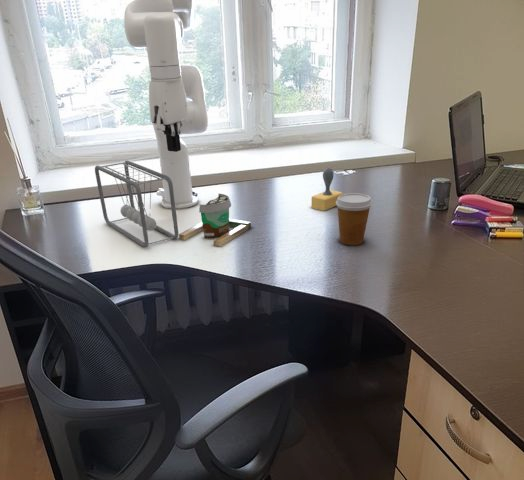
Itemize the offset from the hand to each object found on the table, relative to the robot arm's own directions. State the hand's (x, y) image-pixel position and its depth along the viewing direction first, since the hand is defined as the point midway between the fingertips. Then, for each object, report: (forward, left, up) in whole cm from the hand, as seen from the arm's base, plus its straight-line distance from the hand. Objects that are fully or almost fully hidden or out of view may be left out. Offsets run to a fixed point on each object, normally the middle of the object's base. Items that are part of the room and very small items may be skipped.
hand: (174, 150), depth 140 cm
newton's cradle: (-15, -2, -24) cm, 28 cm away
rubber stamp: (+26, +44, -24) cm, 56 cm away
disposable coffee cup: (+45, +17, -24) cm, 54 cm away
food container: (+9, +6, -24) cm, 26 cm away
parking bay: (+7, +6, -24) cm, 25 cm away
